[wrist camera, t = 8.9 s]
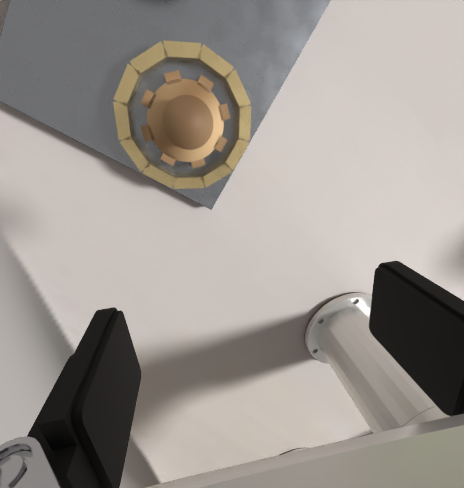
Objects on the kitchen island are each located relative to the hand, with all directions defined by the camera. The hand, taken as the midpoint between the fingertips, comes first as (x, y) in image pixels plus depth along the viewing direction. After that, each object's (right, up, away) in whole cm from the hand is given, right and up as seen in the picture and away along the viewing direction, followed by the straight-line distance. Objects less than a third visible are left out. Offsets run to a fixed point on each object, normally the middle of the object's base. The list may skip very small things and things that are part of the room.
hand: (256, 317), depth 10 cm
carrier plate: (-6, +20, +13) cm, 25 cm away
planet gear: (-5, +14, +14) cm, 20 cm away
